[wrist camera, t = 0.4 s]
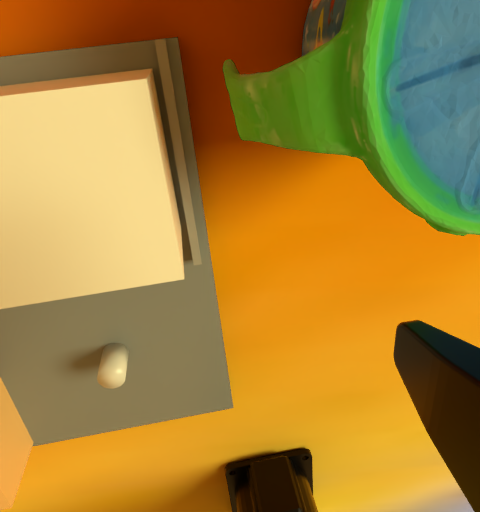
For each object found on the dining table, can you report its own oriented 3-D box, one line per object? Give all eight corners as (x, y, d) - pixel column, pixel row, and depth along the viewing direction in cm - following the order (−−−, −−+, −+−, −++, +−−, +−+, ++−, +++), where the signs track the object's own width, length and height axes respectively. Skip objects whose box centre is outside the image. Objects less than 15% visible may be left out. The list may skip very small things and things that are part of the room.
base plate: (230, 393, 27) (237, 434, 25) (-53, 447, 26) (-81, 496, 23) (177, 37, 18) (178, 36, 15) (-290, 89, 16) (-388, 99, 13)
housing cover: (180, 225, 20) (184, 279, 16) (-26, 257, 19) (-85, 322, 15) (152, 68, 17) (146, 78, 12) (-99, 97, 16) (-203, 120, 11)
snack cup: (565, -138, 17) (1014, -339, 8) (519, 126, 22) (761, 186, 13) (184, -81, 16) (204, -238, 7) (228, 182, 21) (273, 289, 12)
